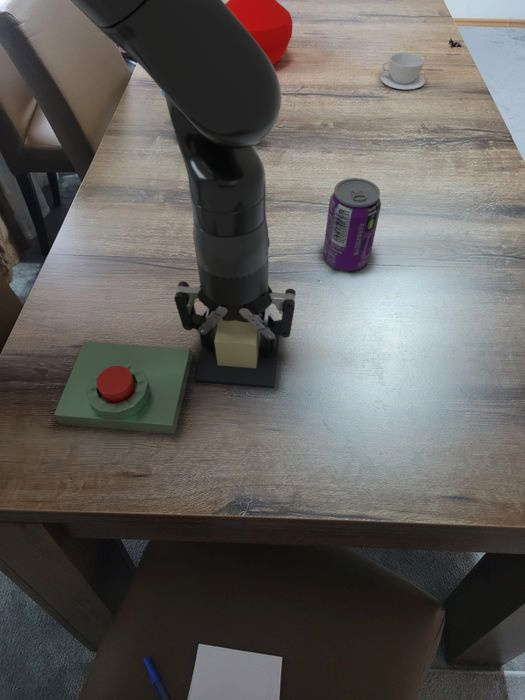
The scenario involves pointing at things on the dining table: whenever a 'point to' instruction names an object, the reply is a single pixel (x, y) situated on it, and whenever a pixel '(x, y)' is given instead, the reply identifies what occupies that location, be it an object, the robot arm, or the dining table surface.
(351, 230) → the beverage can
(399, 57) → the teacup
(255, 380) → the mat
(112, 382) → the switch
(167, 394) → the switch base
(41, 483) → the dining table surface
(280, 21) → the vase
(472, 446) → the dining table surface
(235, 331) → the block
